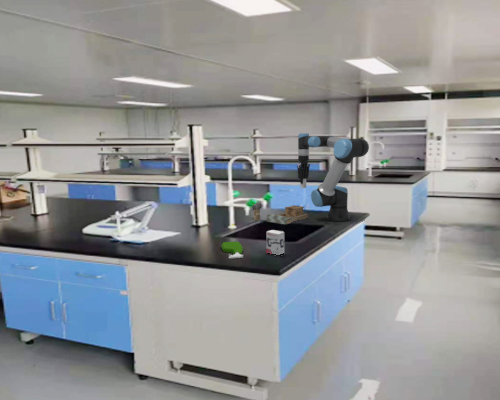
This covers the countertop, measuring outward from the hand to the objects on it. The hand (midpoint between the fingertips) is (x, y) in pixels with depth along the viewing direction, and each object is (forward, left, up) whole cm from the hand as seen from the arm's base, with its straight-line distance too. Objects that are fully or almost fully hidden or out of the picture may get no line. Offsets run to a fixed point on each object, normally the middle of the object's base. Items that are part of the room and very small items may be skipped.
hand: (303, 187), depth 327 cm
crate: (0, +11, -21) cm, 23 cm away
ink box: (-47, +91, -21) cm, 104 cm away
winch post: (+16, +33, -20) cm, 42 cm away
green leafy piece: (-28, +102, -21) cm, 108 cm away
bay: (0, +18, -20) cm, 27 cm away
